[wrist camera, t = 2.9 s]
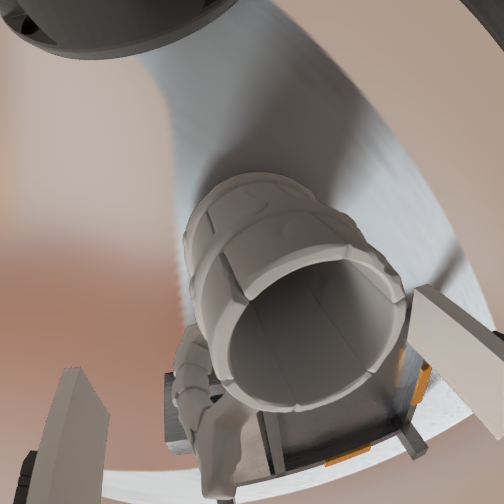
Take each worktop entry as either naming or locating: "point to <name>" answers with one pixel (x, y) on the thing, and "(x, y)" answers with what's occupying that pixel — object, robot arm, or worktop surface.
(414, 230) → the worktop surface
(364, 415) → the tray
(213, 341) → the mug
